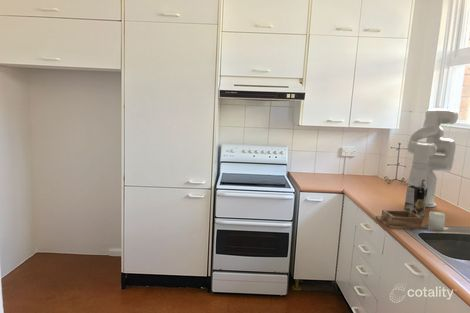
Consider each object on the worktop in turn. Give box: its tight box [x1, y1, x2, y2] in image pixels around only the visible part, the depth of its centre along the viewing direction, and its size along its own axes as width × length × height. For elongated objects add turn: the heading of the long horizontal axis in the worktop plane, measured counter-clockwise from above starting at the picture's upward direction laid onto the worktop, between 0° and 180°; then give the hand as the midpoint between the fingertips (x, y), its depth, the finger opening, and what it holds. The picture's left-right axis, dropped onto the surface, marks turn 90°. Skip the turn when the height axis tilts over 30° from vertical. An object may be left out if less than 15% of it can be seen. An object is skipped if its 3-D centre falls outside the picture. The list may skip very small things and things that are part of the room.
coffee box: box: [403, 185, 428, 218], centre depth 192 cm, size 9×6×16 cm
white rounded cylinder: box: [427, 211, 446, 230], centre depth 175 cm, size 7×7×7 cm
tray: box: [375, 209, 429, 230], centre depth 178 cm, size 16×19×5 cm
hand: (416, 197), depth 192 cm, fingers closed on coffee box, 8 cm apart
